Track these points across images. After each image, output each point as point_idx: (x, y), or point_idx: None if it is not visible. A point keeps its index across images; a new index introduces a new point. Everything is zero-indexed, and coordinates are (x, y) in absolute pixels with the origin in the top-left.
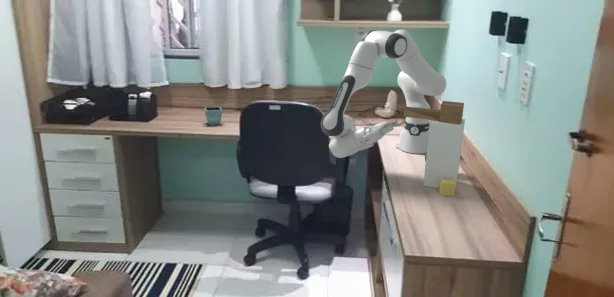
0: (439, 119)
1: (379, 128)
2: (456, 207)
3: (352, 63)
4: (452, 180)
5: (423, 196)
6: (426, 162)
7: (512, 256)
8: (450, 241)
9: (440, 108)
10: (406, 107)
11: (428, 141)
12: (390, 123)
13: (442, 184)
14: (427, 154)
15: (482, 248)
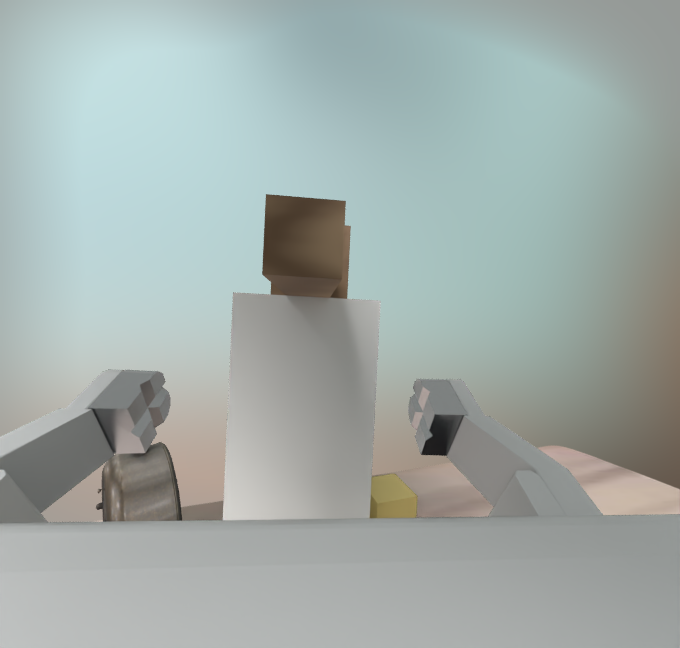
0: (346, 291)
1: (557, 536)
2: (466, 502)
3: None
4: (371, 480)
5: None
6: (370, 491)
7: (558, 447)
8: (644, 498)
9: (349, 244)
10: (306, 202)
11: (375, 391)
12: (14, 461)
13: (416, 500)
14: (372, 452)
15: (589, 467)
